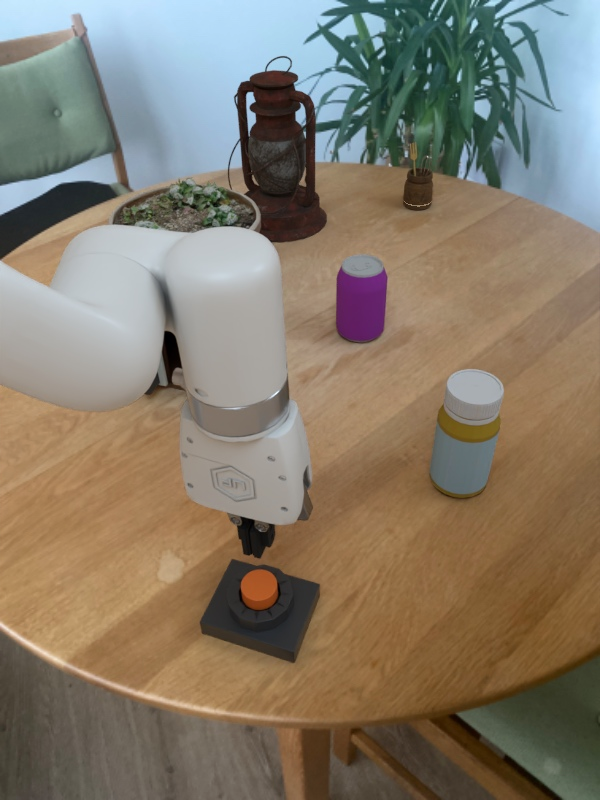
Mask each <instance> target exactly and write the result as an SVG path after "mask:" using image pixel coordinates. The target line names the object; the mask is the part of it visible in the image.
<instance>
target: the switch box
mask: <svg viewBox="0 0 600 800" xmlns="http://www.w3.org/2000/svg"><path fill="white" fill-rule="evenodd" d="M258 569H262V570H267V571H269V572H271V573H272V574H273V575H274V576H275V578H276V580H277V587H278V597H277V600H276V602H275V603H274V604H273V605H272V606H271V607H269V608H267V609H264V610H254V609H251V608H249V607H248V606H247V605H246V604H245V603H244V601H243V599H242V592H241V582H242V580H243V578H244V577H245V575H246V574H248V573H249V572H251V571H254V570H258ZM320 586H321V584H320V583H318V582H314V581H311V580H307V579H304V578H301V577H297V576H293V575H290V574H287V573H284V572H283V571H282V570H281V569H280V568H279V567H274V566H272V565H271V566H270V565H268V564H258V565H256V564H251V563H249V562H244V561H241V560H238V559H235V558H231V560H230V561H229V563H228V566H227V567H226V569H225V571H224V573H223V575H222V577H221V579H220V581H219V583H218V585H217V587H216V589H215V591H214V592H213V595H212V597H211V599H210V600H209V603H208V604H207V607H206V608H205V610H204V612H203V614H202V617H200V621H199V625H200V629H201V633H202V634H203V635H206V636H209V637H212V638H215V639H219V640H222V641H224V642H228V643H230V644H234V645H237V646H240V647H243V648H246V649H249V650H253V651H255V652H259V653H262V654H265V655H268V656H270V657H274V658H277V659H280V660H283V661H286V662H290V663H292V664H295V663H296V660H297V657H298V655H299V652H300V650H301V647H302V645H303V643H304V639H305V636H306V634H307V631H308V629H309V626H310V623H311V621H312V618H313V615H314V613H315V610H316V607H317V604H318V602H319V599H320V597H321V587H320Z"/></svg>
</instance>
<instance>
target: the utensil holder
mask: <svg viewBox="0 0 600 800" xmlns="http://www.w3.org/2000/svg"><path fill="white" fill-rule="evenodd" d="M417 149H418V148H417V142H416V141H415V142H412V143H409V157H410V160H411V161H412V166H413V167H412V168H410V169H408V171H407V173H406V180H405V182H404V187H403V198H402V199H403V200H404V201H405V202H406V203H408V204H412V205H424V204H428V203H430V202H431V201H433V193H434V182H433V177H434V175H433V171H432V168H431V167H432V162H429V166H428V168H426V167H427V166H424V167H423V161H424V160H425V159H426V158H427V159H426V161H425V164H427V163H428V160H429V161H431V156H429V155H424V156H423V157H422V158H421V160H420V161H419V162H420V165H419V166H418V167H416V160H417V159H418V150H417ZM403 200H402V201H403ZM404 201H403V206H404V207H405V208H407V209H409V210H412V211H423V210H426V209H428V208H430V207H431V205H432V202H431V203H430V204H429V205H426V206H420V207H417V206H411V205H408V204H406V203H405V202H404Z"/></svg>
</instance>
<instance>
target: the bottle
mask: <svg viewBox="0 0 600 800" xmlns="http://www.w3.org/2000/svg"><path fill="white" fill-rule="evenodd" d="M504 395H505V388H504V385H503V383H502V381H501V380H500V378H498V377H497V376H495V375H494V374H493V373H490V372H488V371H486V370H481V369H477V368H476V369H475V368H466V369H461V370H457V371H455V372H454V373H452V374H451V375H450V376H449V377H448V379H447V381H446V384H445V391H444V396H443V397H444V398H443V403H442V404H441V406H440V408H439V409H438V414H437V419H436V423H435V431H434V437H433V444H432V449H431V450H432V452H431V457H430V465H429V473H428V474H429V475H428V476H429V479H430V481H431V483H432V484H433V486H434V487H435V488H436V489H437V490H439V491H440V492H442V493H443V494H444V495H447V496H449V497H452V498H456V499H467V498H471V497H474V496H476V495H479V494H480V493H481V492H483V491H484V490H485V488H486V486H487V483H488V481H489V476H490V472H491V468H492V464H493V459H494V455H495V452H496V447H497V442H498V438H499V434H500V430H501V422H502V421H501V420H502V419H501V416H500V410H501V407H502V403H503V400H504Z"/></svg>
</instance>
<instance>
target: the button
mask: <svg viewBox="0 0 600 800" xmlns="http://www.w3.org/2000/svg"><path fill="white" fill-rule="evenodd" d="M241 592H242V599H243V601H244V603H245V604H246V605H247V606H248V607H249V608H251V609H254V610H264V609H267V608H269V607H271V606H272V605H273V604H274V603H275V602H276V600H277V597H278V587H277V580H276V578H275V576H274V575H273V574H272V573H271V572H269V571H267V570H262V569H258V570H254V571H251V572H249V573H248V574H246V575H245V577H244V578H243V580H242V582H241Z"/></svg>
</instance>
